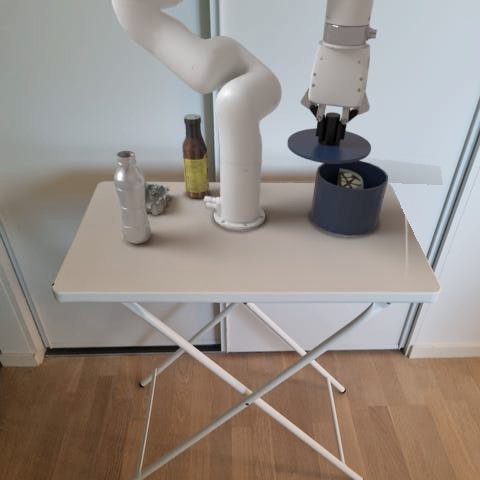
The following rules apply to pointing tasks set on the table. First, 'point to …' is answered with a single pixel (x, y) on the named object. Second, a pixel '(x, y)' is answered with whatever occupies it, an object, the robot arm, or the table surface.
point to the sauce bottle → (195, 158)
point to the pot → (348, 199)
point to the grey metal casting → (155, 198)
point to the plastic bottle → (132, 198)
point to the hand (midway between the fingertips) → (329, 140)
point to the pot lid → (329, 144)
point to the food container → (349, 180)
